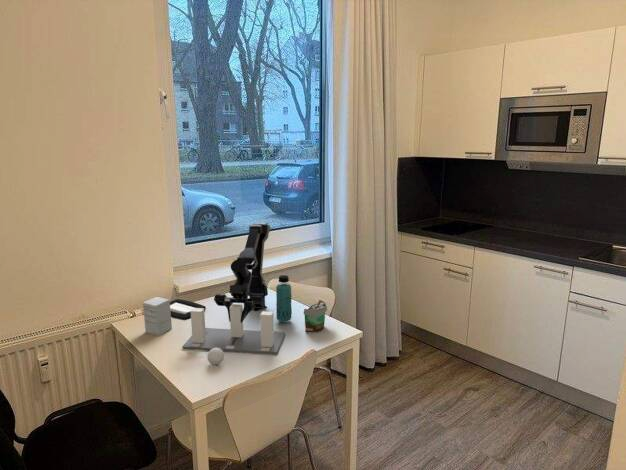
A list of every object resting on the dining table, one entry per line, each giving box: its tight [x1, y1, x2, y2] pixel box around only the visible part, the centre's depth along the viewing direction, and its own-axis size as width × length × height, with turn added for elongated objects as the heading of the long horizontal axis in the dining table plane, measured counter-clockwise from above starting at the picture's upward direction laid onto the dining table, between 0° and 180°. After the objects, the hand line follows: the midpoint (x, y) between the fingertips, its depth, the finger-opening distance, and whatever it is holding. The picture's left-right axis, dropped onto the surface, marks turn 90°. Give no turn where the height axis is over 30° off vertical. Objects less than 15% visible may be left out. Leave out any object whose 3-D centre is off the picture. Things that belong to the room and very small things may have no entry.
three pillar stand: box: [182, 308, 286, 356], centre depth 160 cm, size 16×35×13 cm, turn 83°
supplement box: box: [142, 296, 173, 336], centre depth 169 cm, size 7×7×13 cm
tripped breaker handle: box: [229, 303, 244, 338], centre depth 162 cm, size 3×4×12 cm
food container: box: [303, 299, 328, 334], centre depth 171 cm, size 12×6×10 cm, turn 148°
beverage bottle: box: [275, 274, 293, 322], centre depth 176 cm, size 6×7×20 cm
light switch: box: [170, 298, 207, 321], centre depth 190 cm, size 20×3×14 cm
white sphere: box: [201, 348, 225, 366], centre depth 145 cm, size 8×6×6 cm
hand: (235, 321), depth 161 cm, fingers closed on tripped breaker handle, 4 cm apart
